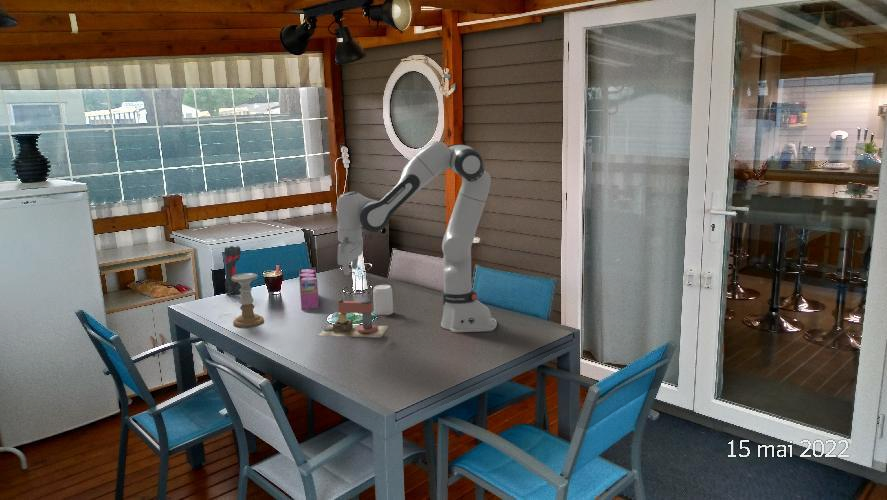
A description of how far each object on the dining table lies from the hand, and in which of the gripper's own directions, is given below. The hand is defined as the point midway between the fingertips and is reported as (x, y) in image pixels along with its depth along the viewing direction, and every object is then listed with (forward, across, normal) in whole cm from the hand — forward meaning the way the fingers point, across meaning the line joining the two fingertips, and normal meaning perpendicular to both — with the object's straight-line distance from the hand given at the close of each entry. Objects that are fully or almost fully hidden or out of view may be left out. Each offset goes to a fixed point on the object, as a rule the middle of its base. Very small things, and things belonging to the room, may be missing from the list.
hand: (350, 271), depth 242 cm
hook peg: (+25, +5, +5) cm, 26 cm away
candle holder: (+28, +13, +49) cm, 58 cm away
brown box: (+25, +5, +5) cm, 26 cm away
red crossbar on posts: (+25, +5, -1) cm, 25 cm away
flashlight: (+28, +56, +77) cm, 99 cm away
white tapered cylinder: (+26, +30, -4) cm, 40 cm away
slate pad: (+25, +4, +11) cm, 28 cm away
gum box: (+27, +44, +34) cm, 62 cm away
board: (+26, +4, +1) cm, 26 cm away
